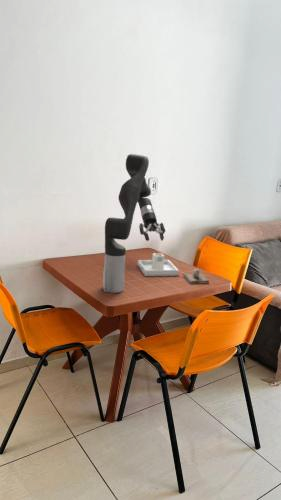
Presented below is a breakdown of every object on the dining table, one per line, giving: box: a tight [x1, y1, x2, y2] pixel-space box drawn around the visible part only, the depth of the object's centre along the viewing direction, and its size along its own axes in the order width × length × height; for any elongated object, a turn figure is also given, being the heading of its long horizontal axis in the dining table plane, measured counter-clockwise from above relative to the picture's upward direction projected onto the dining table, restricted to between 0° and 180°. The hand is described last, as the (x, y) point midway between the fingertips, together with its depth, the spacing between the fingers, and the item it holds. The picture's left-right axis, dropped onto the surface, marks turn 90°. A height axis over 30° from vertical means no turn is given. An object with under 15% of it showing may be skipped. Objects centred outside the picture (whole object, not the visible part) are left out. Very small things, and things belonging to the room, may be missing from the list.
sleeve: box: [151, 252, 165, 270], centre depth 204 cm, size 5×6×8 cm
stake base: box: [182, 268, 210, 285], centre depth 194 cm, size 10×10×6 cm
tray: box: [137, 259, 180, 277], centre depth 206 cm, size 18×18×3 cm
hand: (155, 240), depth 207 cm, fingers open, 8 cm apart
